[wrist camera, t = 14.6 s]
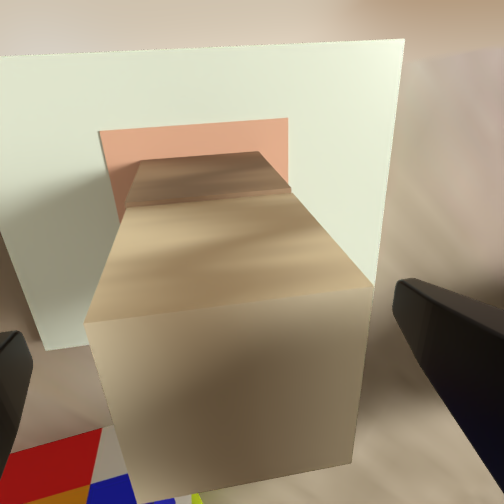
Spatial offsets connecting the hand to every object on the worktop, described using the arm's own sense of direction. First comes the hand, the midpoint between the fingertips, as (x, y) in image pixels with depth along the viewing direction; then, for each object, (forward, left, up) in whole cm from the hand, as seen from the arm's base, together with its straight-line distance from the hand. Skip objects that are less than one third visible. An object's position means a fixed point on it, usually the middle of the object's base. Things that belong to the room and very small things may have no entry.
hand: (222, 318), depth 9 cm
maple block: (0, 0, -2) cm, 2 cm away
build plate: (0, 0, -8) cm, 9 cm away
